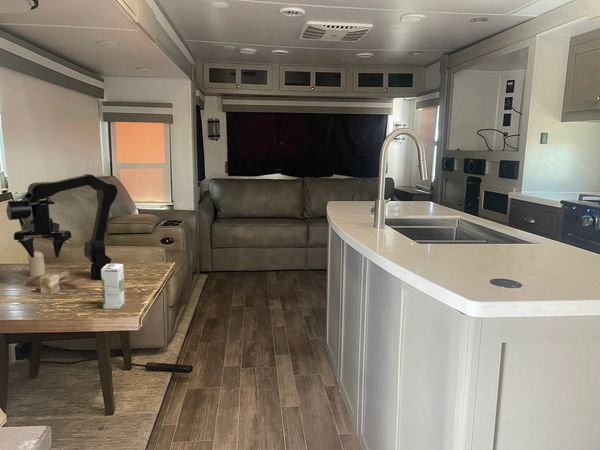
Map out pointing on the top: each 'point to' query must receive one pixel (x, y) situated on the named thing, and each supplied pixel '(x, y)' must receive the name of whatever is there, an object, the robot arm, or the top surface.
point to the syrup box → (113, 286)
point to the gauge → (51, 282)
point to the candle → (36, 264)
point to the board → (60, 282)
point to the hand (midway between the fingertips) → (45, 257)
